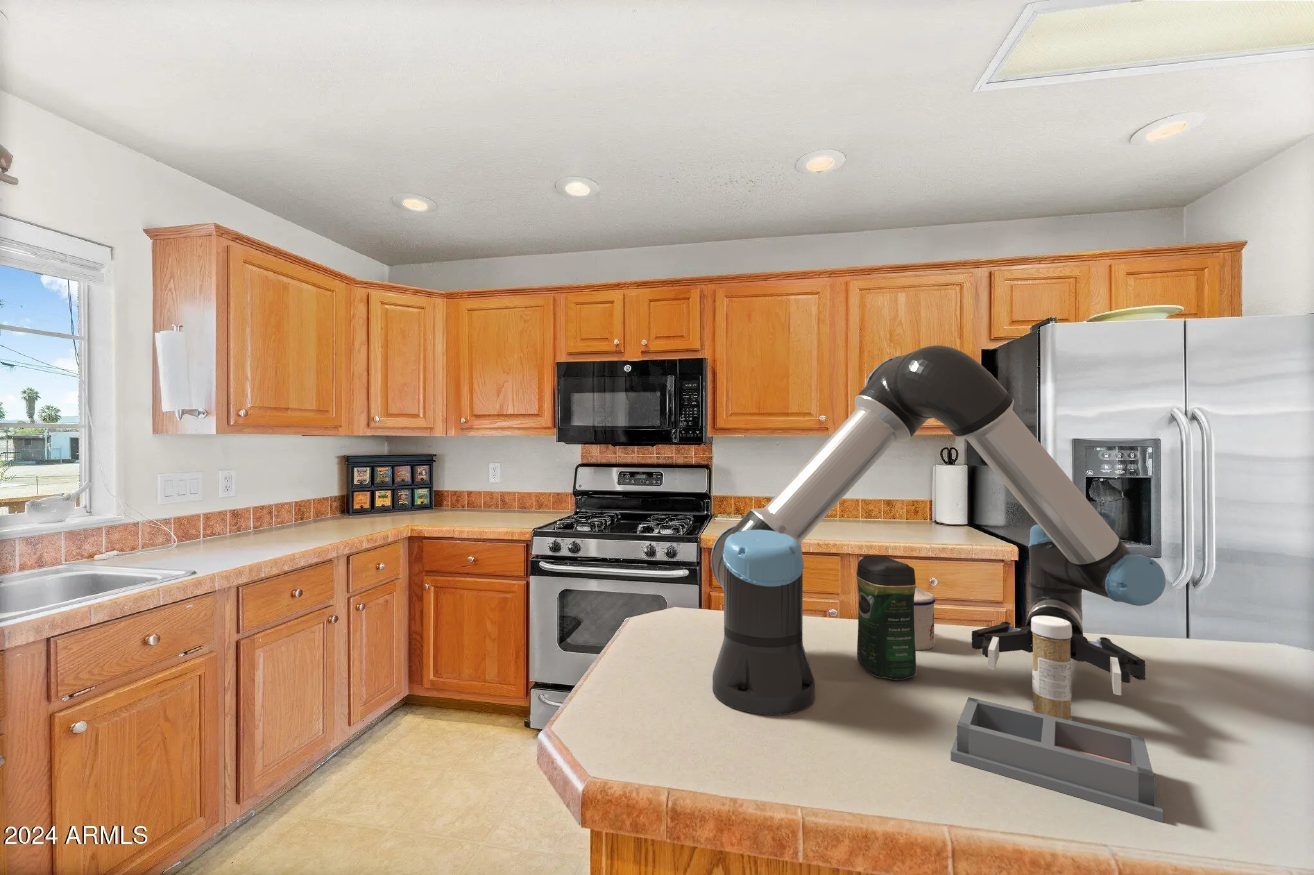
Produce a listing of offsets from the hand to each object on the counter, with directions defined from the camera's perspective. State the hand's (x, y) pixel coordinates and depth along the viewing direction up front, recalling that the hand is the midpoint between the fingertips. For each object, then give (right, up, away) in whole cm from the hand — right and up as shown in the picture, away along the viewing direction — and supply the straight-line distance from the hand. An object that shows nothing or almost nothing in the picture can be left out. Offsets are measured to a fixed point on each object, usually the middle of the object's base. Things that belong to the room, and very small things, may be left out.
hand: (1050, 671), depth 75 cm
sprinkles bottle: (+2, -8, +2) cm, 8 cm away
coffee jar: (-14, -8, +19) cm, 25 cm away
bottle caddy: (-6, -7, -9) cm, 13 cm away
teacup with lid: (-4, -8, +34) cm, 35 cm away
